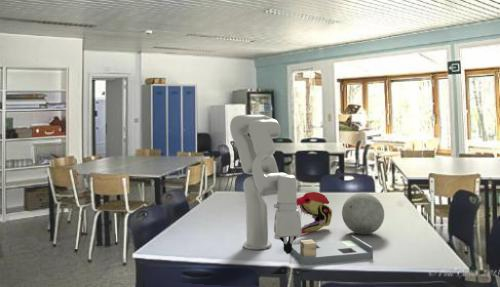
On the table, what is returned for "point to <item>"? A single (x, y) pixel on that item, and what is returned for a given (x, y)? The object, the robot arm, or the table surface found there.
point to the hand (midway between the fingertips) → (287, 252)
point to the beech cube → (308, 247)
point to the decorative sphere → (363, 213)
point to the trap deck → (336, 251)
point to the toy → (315, 211)
